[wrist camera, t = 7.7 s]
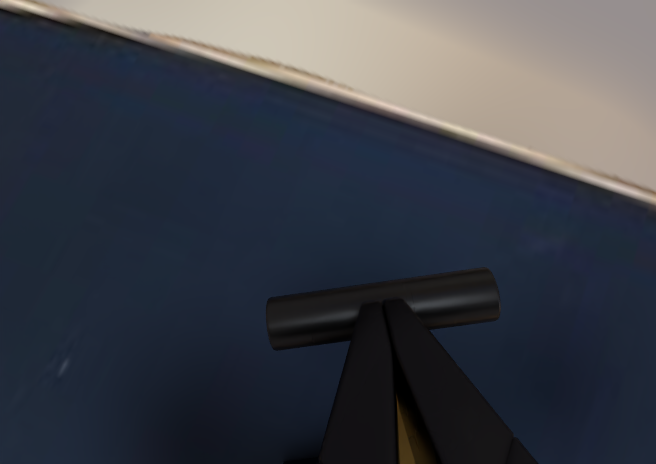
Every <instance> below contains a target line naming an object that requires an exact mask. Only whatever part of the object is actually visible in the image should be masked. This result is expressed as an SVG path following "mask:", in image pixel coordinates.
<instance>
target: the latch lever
mask: <svg viewBox="0 0 656 464" xmlns="http://www.w3.org/2000/svg"><path fill="white" fill-rule="evenodd" d="M394 297H402V298H403V299H404V300H405V301H406V302H407V304H408V305H409V306H410V307H411V308H412V310H413V311H414V312H415V313H416V315H417V316H418V317H419V318H420V320H421V321H422V322H423V323H424V324H425V326H426V327H427V328H428V329H429V330H432V329H440V328H447V327H454V326H462V325H469V324H476V323H484V322H491V321H496V320H497V319H498V318H499V316H500V308H501V306H500V296H499V291H498V287H497V284H496V281H495V278H494V276H493V274H492V273H491V271H490V270H489V269H488V268H485V267H482V268H475V269H468V270H461V271H454V272H447V273H440V274H433V275H426V276H419V277H412V278H405V279H397V280H390V281H383V282H376V283H369V284H362V285H355V286H348V287H341V288H334V289H327V290H320V291H312V292H305V293H298V294H291V295H284V296H277V297H271V298H269V299H268V301H267V305H266V323H267V331H268V336H269V340H270V344H271V346H272V348H273V349H274V350H276V351H278V350H285V349H292V348H300V347H307V346H314V345H322V344H329V343H337V342H344V341H351V338H352V335H353V331H354V328H355V324H356V320H357V317H358V313H359V310H360V306H361V304H362V303H363V302H365V301H372V300H380V301H381V302H382V301H383V300H384V299H387V298H394ZM396 398H397V397H396ZM397 412H398V430H399V449H400V464H416V463H415V460H414V457H413V453H412V450H411V447H410V443H409V440H408V437H407V433H406V430H405V427H404V423H403V420H402V417H401V413H400V410H399V406H398V402H397Z"/></svg>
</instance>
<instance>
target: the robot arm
mask: <svg viewBox="0 0 656 464" xmlns="http://www.w3.org/2000/svg"><path fill="white" fill-rule="evenodd" d="M396 397H397V398H396ZM397 402H398V406H399V410H400V413H401V417H402V420H403V423H404V427H405V430H406V433H407V437H408V440H409V443H410V447H411V450H412V453H413V457H414V460H415V463H416V464H538V463H537V461H536V460H535V459H534V458H533V457H532V456H531V454H530V453H529V452H528V451H527V449H526V448H525V447H524V446H523V445H522V443H521V442H520V441H519V440H518V438H516V437H514V438H513V433H512V431H511V430H510V429H509V428H508V426H507V425H506V424H505V423H504V422H503V420H502V419H501V418H500V417H499V415H498V414H497V413H496V412H495V410H494V409H493V408H492V407H491V406H490V404H489V403H488V402H487V401H486V399H485V398H484V397H483V396H482V394H481V393H480V392H479V391H478V390H477V388H476V387H475V386H474V385H473V383H472V382H471V381H470V380H469V378H468V377H467V376H466V375H465V374H464V372H463V371H462V370H461V369H460V367H459V366H458V365H457V364H456V363H455V361H454V360H453V359H452V358H451V356H450V355H449V354H448V353H447V351H446V350H445V349H444V348H443V347H442V345H441V344H440V343H439V342H438V340H437V339H436V338H435V337H434V335H433V334H432V333H431V332H430V331H429V329H428V328H427V327H426V326H425V324H424V323H423V322H422V321H421V320H420V318H419V317H418V316H417V315H416V313H415V312H414V311H413V310H412V308H411V307H410V306H409V305H408V304H407V302H406V301H405V300H404V299H403V298H402V297H394V298H387V299H384V300H383V301H382V302H381V301H380V300H372V301H365V302H363V303H362V304H361V306H360V310H359V313H358V317H357V320H356V324H355V328H354V331H353V335H352V338H351V342H350V346H349V349H348V353H347V356H346V360H345V363H344V367H343V371H342V374H341V378H340V381H339V385H338V389H337V392H336V396H335V399H334V403H333V407H332V410H331V414H330V417H329V421H328V424H327V428H326V432H325V435H324V439H323V442H322V446H321V450H320V453H319V457H318V460H319V462H317V463H316V464H400V449H399V430H398V412H397Z"/></svg>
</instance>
